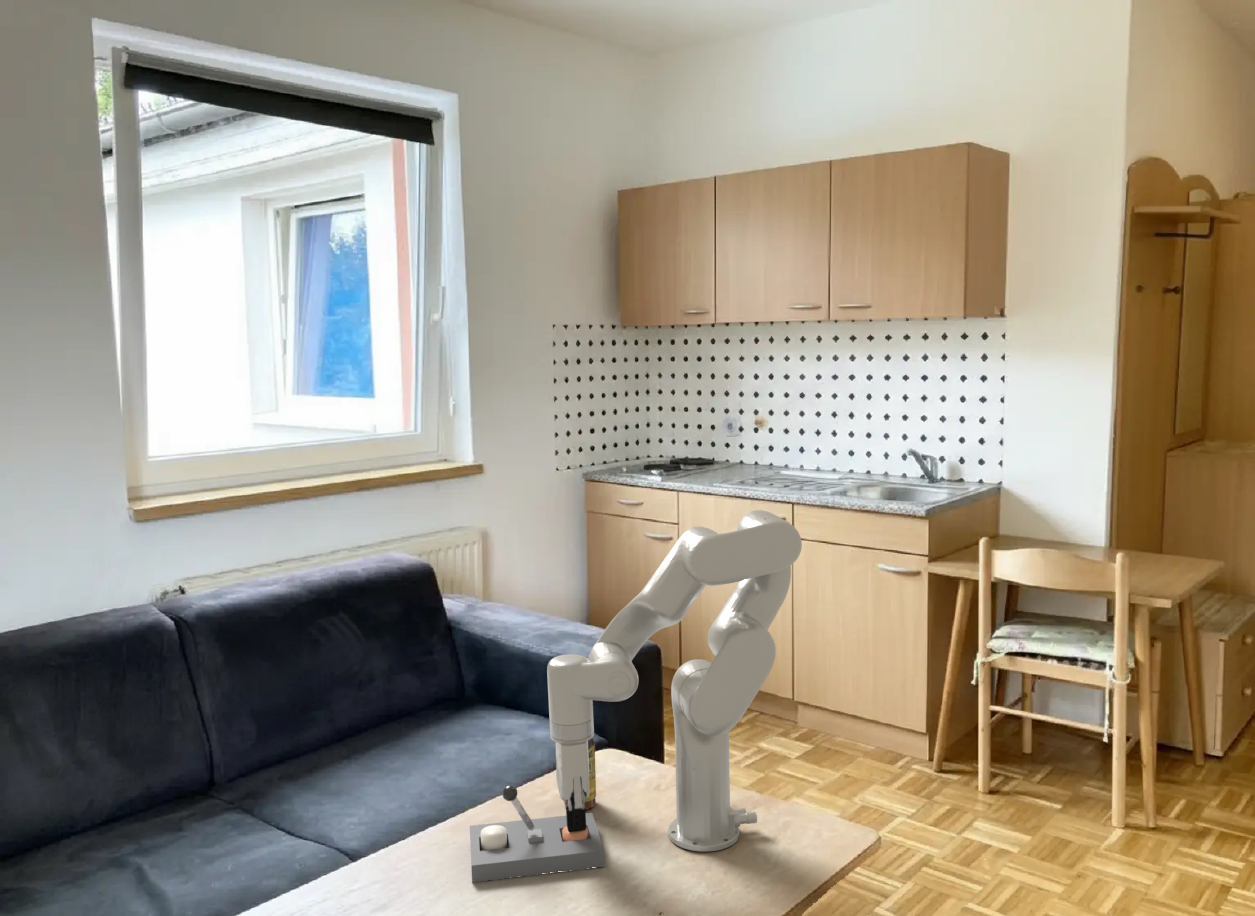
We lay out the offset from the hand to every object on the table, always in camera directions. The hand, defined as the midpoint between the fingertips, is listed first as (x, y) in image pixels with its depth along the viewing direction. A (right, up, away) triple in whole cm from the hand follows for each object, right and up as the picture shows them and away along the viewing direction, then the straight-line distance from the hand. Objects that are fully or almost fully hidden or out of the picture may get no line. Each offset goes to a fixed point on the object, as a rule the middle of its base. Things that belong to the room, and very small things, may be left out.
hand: (576, 828), depth 175 cm
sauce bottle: (0, -2, +18) cm, 18 cm away
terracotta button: (0, -4, 0) cm, 4 cm away
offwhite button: (-14, -3, -2) cm, 14 cm away
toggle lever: (-7, 0, -1) cm, 7 cm away
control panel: (-7, -4, -1) cm, 8 cm away
